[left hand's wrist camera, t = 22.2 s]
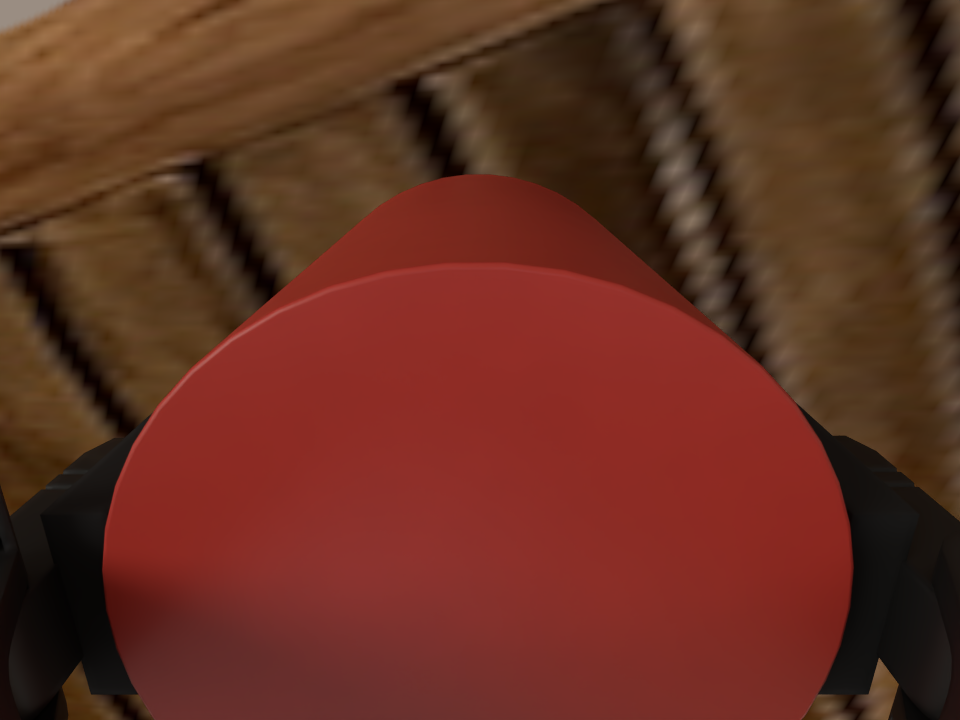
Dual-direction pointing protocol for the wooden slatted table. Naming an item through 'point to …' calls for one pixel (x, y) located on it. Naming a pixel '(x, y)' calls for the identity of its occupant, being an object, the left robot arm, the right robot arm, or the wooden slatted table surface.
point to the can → (478, 492)
